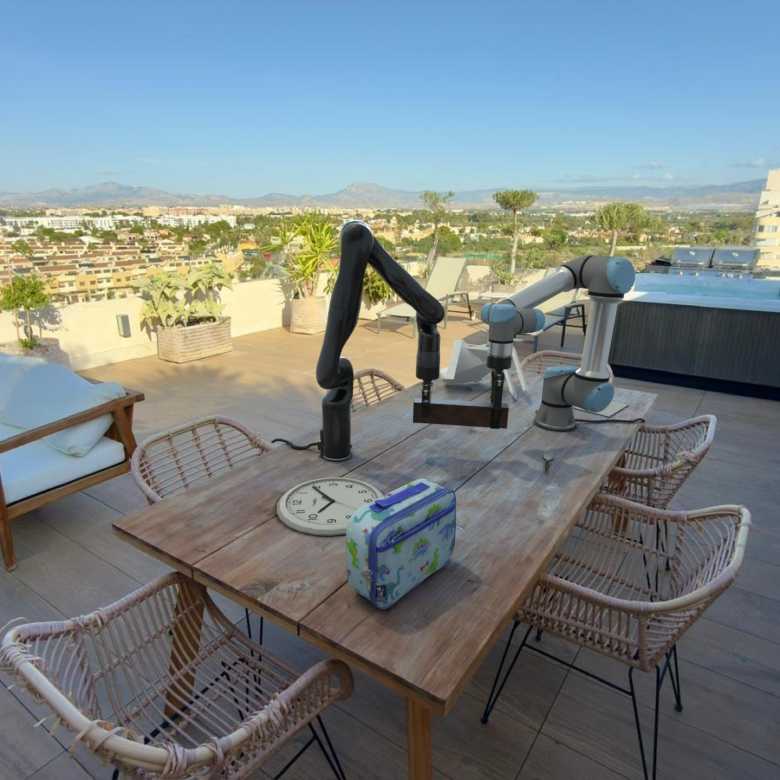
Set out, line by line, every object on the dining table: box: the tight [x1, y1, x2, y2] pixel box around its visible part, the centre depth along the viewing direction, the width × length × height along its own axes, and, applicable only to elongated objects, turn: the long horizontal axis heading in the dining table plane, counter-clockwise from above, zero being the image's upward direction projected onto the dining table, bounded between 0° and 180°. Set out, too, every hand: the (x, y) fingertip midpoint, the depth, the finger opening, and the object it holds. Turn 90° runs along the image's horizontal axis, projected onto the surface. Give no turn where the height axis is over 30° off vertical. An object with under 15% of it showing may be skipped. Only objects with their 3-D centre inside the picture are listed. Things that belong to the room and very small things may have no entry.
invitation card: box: [573, 400, 629, 418], centre depth 226 cm, size 21×1×15 cm
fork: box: [543, 448, 554, 473], centre depth 170 cm, size 3×16×2 cm, turn 160°
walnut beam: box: [412, 397, 510, 430], centre depth 169 cm, size 30×4×7 cm, turn 83°
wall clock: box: [276, 476, 385, 537], centre depth 142 cm, size 30×2×30 cm
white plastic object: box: [439, 338, 531, 400], centre depth 245 cm, size 37×45×31 cm
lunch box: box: [345, 477, 457, 610], centre depth 110 cm, size 26×11×21 cm, turn 134°
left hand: (425, 413), depth 170 cm, fingers closed on walnut beam, 4 cm apart
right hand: (493, 425), depth 168 cm, fingers closed on walnut beam, 4 cm apart
